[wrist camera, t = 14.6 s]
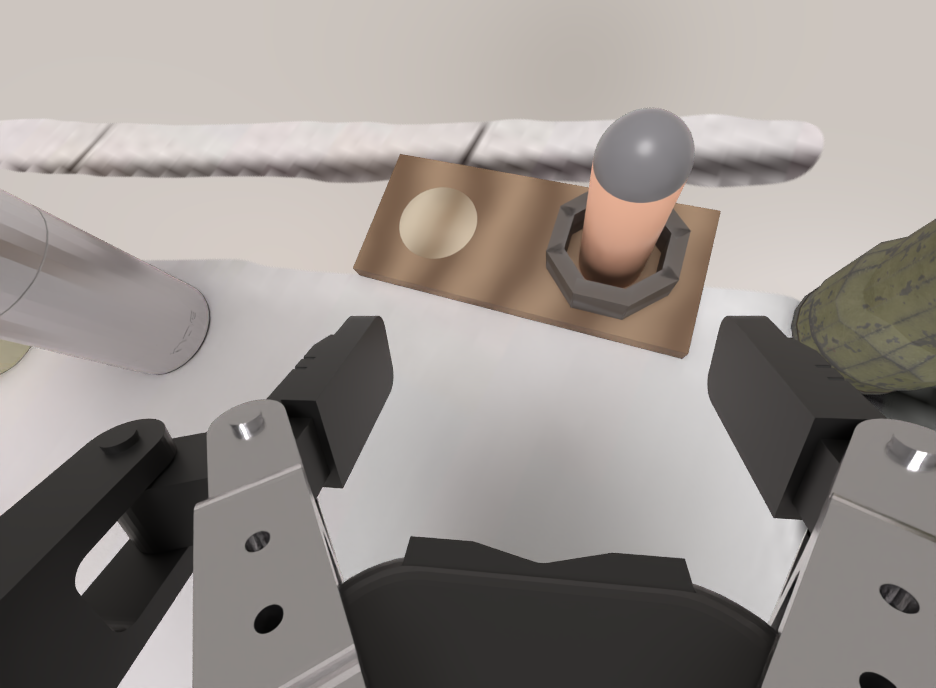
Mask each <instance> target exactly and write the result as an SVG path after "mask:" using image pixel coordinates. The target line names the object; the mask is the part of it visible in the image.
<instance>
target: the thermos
mask: <svg viewBox="0 0 936 688" xmlns="http://www.w3.org/2000/svg"><path fill="white" fill-rule="evenodd" d="M791 329H792V336H793V339H795V340H797V341H799V342H801V343H803V344H805V345H807V346H809V347H810V348H812V349H814V350H816V351H817V352H818V353H819V354H820V355H821V356H822V357H823V358H824V359H825V360H826V361H827V362H829V363H830V364H831V368H835V369H836V370H837V371H838V372H839V373H840V374H841V375H842V376H843V377H844V381H848V382H849V383H850V384H852V385H853V386H854V387H855V388H856V389H857V390H858V391H859V392H860V393H861V394H874V395H882V394H886V393H890V392H894V391H898V390H904V391H913V390H918V389H922V388H927V387H932V386H936V219H935V220H933V221H932V222H930V223H928V224H927V225H925V226H924V227H922V228H921V229H919V230H917V231H916V232H914V233H913V234H911V235H910V236H908V237H904V238H900V239H896V240H891V241H886V242H881V243H880V244H878V245H877V246H875V247H874V248H872V249H871V250H869V251H868V252H866V253H865V254H863V255H862V256H860V257H859V258H857V259H856V260H854V261H853V262H851V263H850V264H848V265H847V266H845V267H844V268H842V269H841V270H839V271H838V272H836V273H835V274H834V275H832V276H831V277H829V278H828V279H826V280H825V281H824V282H823V283H822V284H821V286H819V287H818V288H817V289H815V290H814V291H812V292H811V293H809V294H808V295H806V296H805V297H804V298H803V300H802V301H801V303H800V304H799V305H798V307H797V308H796V310H795V312H794V317H793V321H792V326H791Z"/></svg>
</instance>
